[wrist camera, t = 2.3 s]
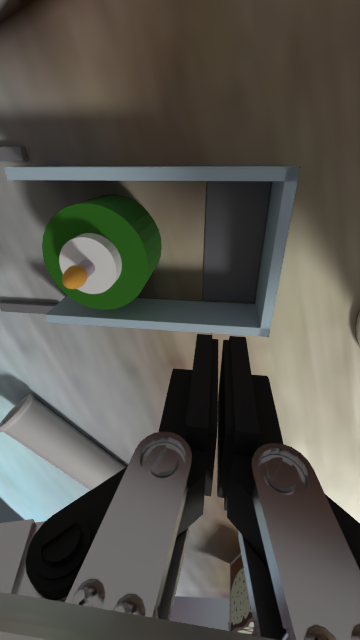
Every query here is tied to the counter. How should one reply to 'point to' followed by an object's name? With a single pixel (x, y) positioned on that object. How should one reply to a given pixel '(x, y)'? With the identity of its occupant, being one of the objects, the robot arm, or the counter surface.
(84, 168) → the pale blue tray
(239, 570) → the food container
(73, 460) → the tube
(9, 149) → the strips
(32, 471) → the counter surface
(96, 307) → the candle
